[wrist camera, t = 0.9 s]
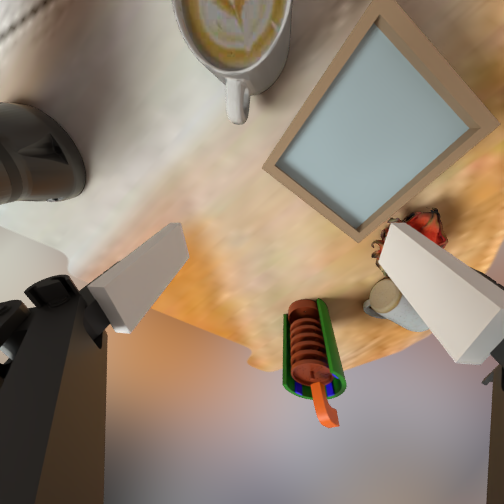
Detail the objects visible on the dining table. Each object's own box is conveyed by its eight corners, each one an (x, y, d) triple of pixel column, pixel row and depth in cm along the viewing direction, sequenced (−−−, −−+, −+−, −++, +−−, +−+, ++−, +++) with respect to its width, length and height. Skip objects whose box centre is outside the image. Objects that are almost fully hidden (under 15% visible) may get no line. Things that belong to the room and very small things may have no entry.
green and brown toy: (307, 290, 42) (324, 395, 25) (337, 310, 43) (373, 422, 26) (278, 314, 47) (275, 416, 30) (306, 331, 48) (319, 437, 31)
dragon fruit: (364, 259, 38) (403, 200, 33) (412, 284, 34) (465, 221, 29) (355, 266, 31) (402, 194, 27) (413, 299, 27) (482, 220, 22)
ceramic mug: (387, 268, 36) (409, 297, 30) (423, 284, 37) (453, 316, 31) (350, 302, 42) (362, 333, 36) (383, 316, 43) (400, 349, 36)
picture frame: (264, 163, 30) (261, 167, 26) (360, 18, 21) (382, -15, 17) (347, 228, 34) (358, 243, 29) (459, 126, 25) (500, 124, 20)
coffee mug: (217, -33, 21) (172, -150, 13) (303, -3, 21) (317, -97, 13) (201, 112, 28) (165, 101, 20) (266, 134, 28) (259, 132, 20)
